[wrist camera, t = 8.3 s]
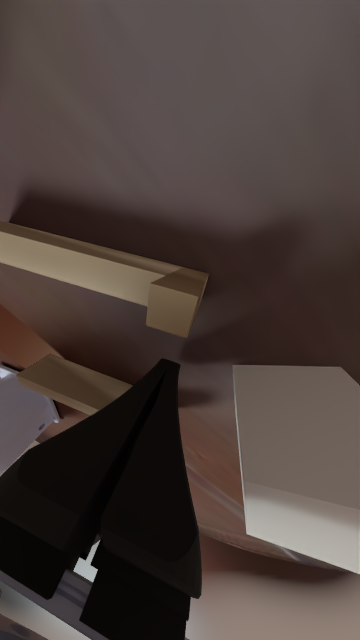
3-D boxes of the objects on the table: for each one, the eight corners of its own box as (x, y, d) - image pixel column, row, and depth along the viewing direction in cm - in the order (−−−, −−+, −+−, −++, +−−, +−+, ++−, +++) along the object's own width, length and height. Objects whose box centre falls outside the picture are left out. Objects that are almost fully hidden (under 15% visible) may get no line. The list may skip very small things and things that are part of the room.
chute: (169, 409, 14) (151, 467, 11) (53, 363, 16) (1, 399, 12) (209, 273, 8) (198, 296, 4) (7, 222, 10) (-133, 204, 6)
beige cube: (320, 426, 11) (414, 594, 6) (235, 416, 13) (246, 534, 7) (339, 365, 8) (534, 555, 3) (232, 363, 10) (243, 482, 5)
